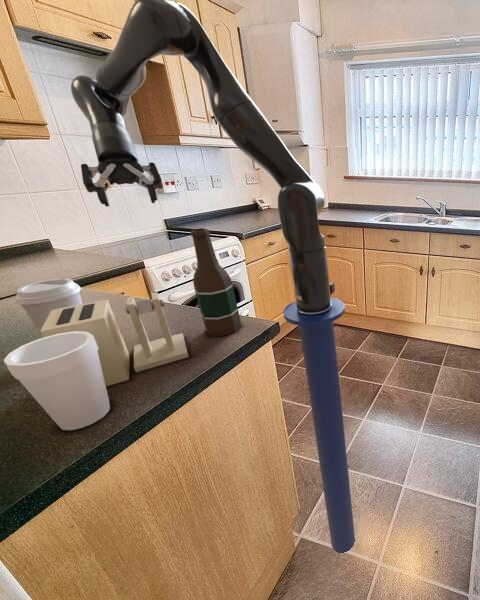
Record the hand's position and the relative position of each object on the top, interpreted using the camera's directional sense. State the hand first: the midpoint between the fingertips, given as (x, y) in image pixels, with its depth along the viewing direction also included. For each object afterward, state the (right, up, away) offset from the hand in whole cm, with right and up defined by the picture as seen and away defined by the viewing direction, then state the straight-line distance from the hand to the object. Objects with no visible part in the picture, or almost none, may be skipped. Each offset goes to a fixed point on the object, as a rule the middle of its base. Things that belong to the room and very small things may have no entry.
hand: (130, 202), depth 76 cm
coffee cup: (-9, -33, -3) cm, 35 cm away
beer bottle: (+19, -29, +4) cm, 35 cm away
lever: (+8, -25, -5) cm, 27 cm away
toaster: (+4, -37, -12) cm, 39 cm away
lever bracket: (+11, -34, -5) cm, 36 cm away
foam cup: (+10, -41, -22) cm, 48 cm away
